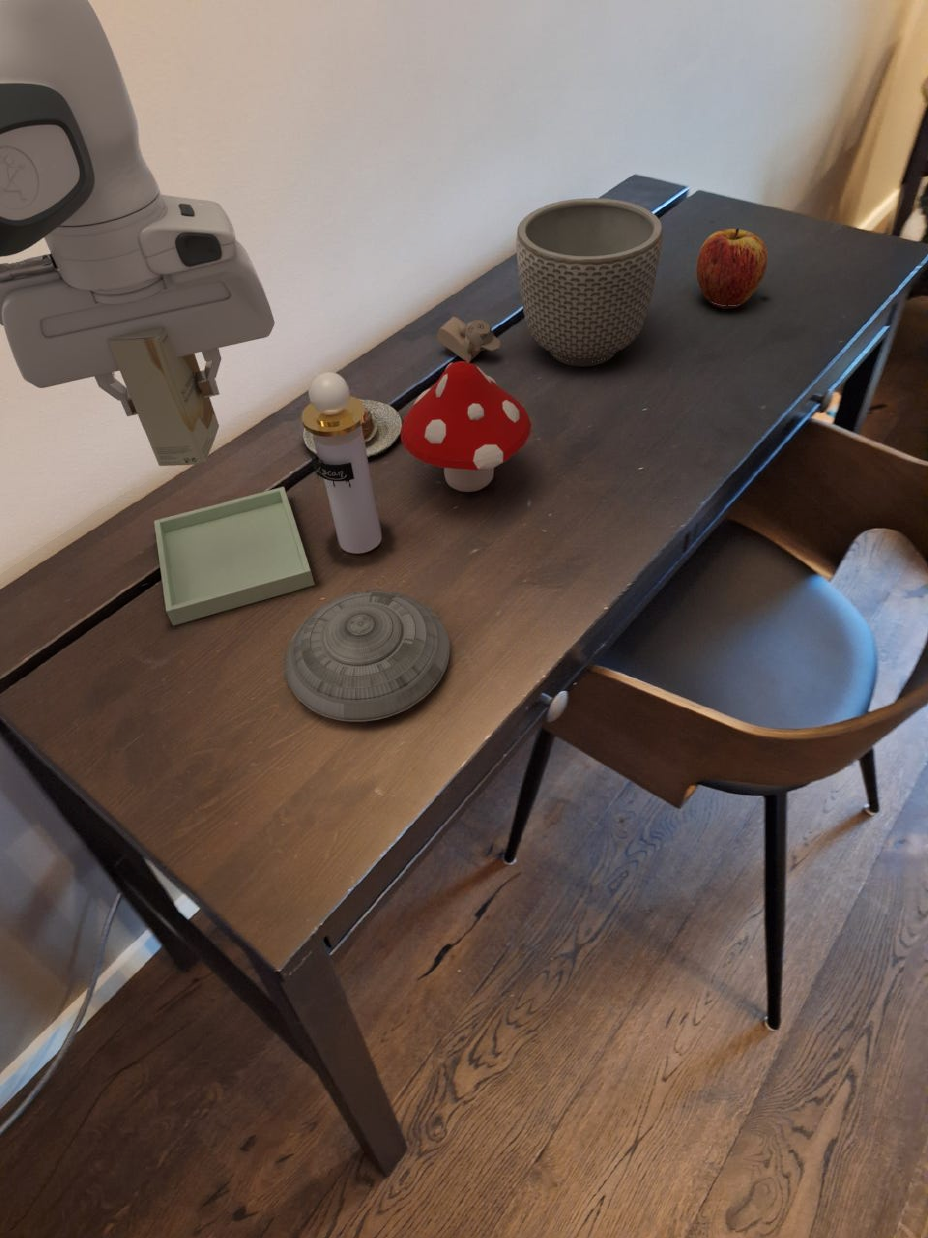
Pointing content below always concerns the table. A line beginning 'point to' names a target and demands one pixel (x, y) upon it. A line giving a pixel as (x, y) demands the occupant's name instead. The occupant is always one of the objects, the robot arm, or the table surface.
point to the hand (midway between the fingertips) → (174, 402)
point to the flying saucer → (367, 656)
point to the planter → (587, 276)
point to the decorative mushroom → (465, 426)
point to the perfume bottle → (343, 461)
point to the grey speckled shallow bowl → (373, 428)
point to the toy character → (467, 337)
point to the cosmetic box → (166, 397)
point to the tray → (230, 555)
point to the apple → (731, 266)
